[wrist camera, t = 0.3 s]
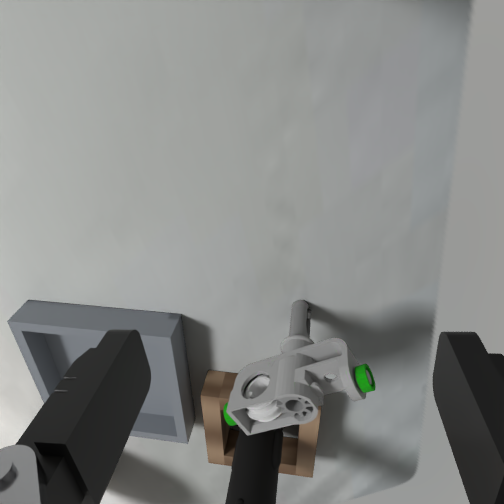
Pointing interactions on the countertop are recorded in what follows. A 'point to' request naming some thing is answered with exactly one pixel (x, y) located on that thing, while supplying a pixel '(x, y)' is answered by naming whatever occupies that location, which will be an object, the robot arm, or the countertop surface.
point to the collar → (224, 440)
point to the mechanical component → (295, 380)
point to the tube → (255, 468)
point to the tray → (89, 336)
